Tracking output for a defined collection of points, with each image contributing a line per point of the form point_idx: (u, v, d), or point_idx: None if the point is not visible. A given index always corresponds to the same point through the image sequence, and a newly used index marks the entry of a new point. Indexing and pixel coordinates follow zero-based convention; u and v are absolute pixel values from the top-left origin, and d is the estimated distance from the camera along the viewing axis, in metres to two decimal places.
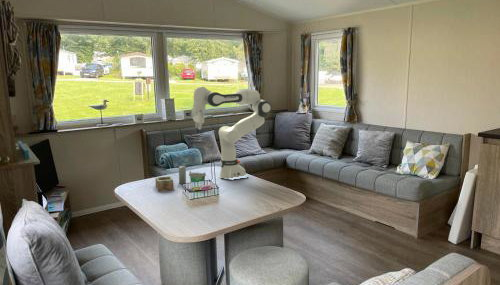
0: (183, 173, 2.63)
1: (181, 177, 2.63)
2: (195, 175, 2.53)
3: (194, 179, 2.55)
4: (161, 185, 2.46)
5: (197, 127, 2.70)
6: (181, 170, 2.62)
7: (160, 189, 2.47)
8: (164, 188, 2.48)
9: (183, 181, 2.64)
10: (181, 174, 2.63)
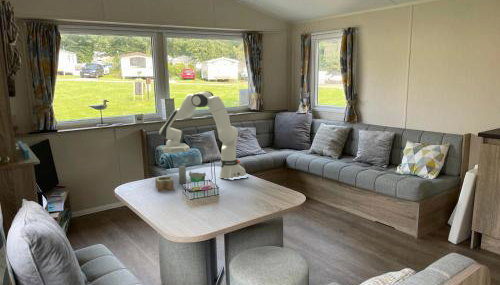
0: (183, 173, 2.63)
1: (181, 177, 2.63)
2: (195, 175, 2.53)
3: (194, 179, 2.55)
4: (161, 185, 2.46)
5: (183, 150, 2.76)
6: (181, 170, 2.62)
7: (160, 189, 2.47)
8: (164, 188, 2.48)
9: (183, 181, 2.64)
10: (181, 174, 2.63)
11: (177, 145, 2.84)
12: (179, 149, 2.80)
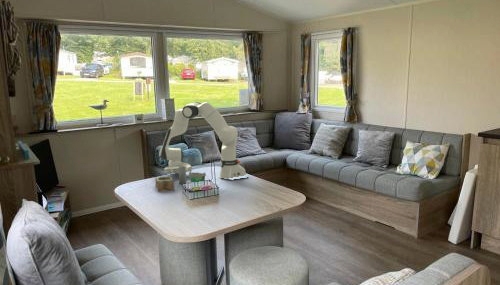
0: (183, 173, 2.63)
1: (181, 177, 2.63)
2: (195, 175, 2.53)
3: (194, 179, 2.55)
4: (161, 185, 2.46)
5: None
6: (181, 170, 2.62)
7: (160, 189, 2.47)
8: (164, 188, 2.48)
9: (183, 181, 2.64)
10: (181, 174, 2.63)
11: (179, 165, 2.83)
12: None
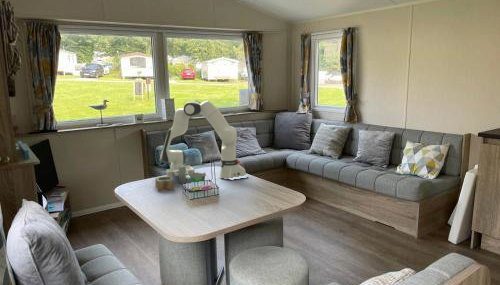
0: (183, 173, 2.63)
1: (181, 177, 2.63)
2: (195, 175, 2.53)
3: (194, 179, 2.55)
4: (161, 185, 2.46)
5: None
6: (181, 170, 2.62)
7: (160, 189, 2.47)
8: (164, 188, 2.48)
9: (183, 181, 2.64)
10: (181, 174, 2.63)
11: None
12: None
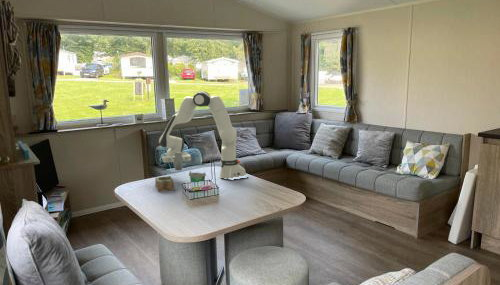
0: (179, 159, 2.59)
1: (177, 163, 2.59)
2: (195, 175, 2.53)
3: (194, 179, 2.55)
4: (161, 185, 2.46)
5: (182, 159, 2.62)
6: (177, 156, 2.58)
7: (160, 189, 2.47)
8: (164, 188, 2.48)
9: (179, 167, 2.60)
10: (177, 160, 2.59)
11: None
12: None
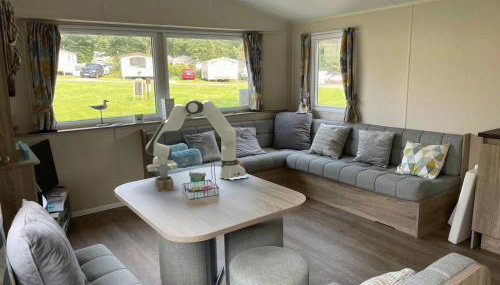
0: (164, 170, 2.50)
1: (162, 174, 2.51)
2: (195, 175, 2.53)
3: (194, 179, 2.55)
4: (161, 185, 2.46)
5: (169, 168, 2.53)
6: (162, 167, 2.50)
7: (160, 189, 2.47)
8: (164, 188, 2.48)
9: (164, 179, 2.51)
10: (162, 171, 2.50)
11: (164, 162, 2.61)
12: None
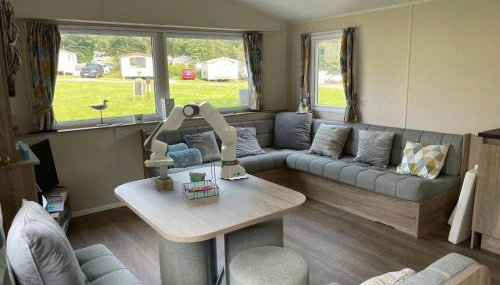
0: (164, 170, 2.50)
1: (162, 174, 2.51)
2: (195, 175, 2.53)
3: (194, 179, 2.55)
4: (161, 185, 2.46)
5: None
6: (162, 167, 2.50)
7: (160, 189, 2.47)
8: (164, 188, 2.48)
9: (164, 178, 2.51)
10: (162, 171, 2.50)
11: (161, 158, 2.74)
12: None
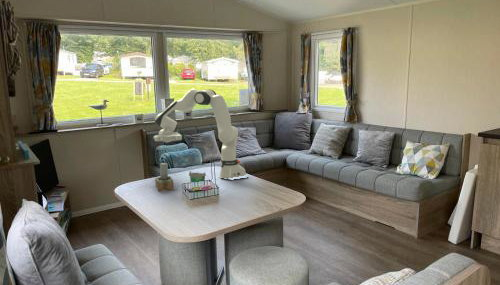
0: (164, 170, 2.50)
1: (162, 174, 2.51)
2: (195, 175, 2.53)
3: (194, 179, 2.55)
4: (161, 185, 2.46)
5: (174, 138, 2.73)
6: (162, 167, 2.50)
7: (160, 189, 2.47)
8: (164, 188, 2.48)
9: (164, 179, 2.51)
10: (162, 171, 2.50)
11: (169, 134, 2.81)
12: (171, 137, 2.77)
